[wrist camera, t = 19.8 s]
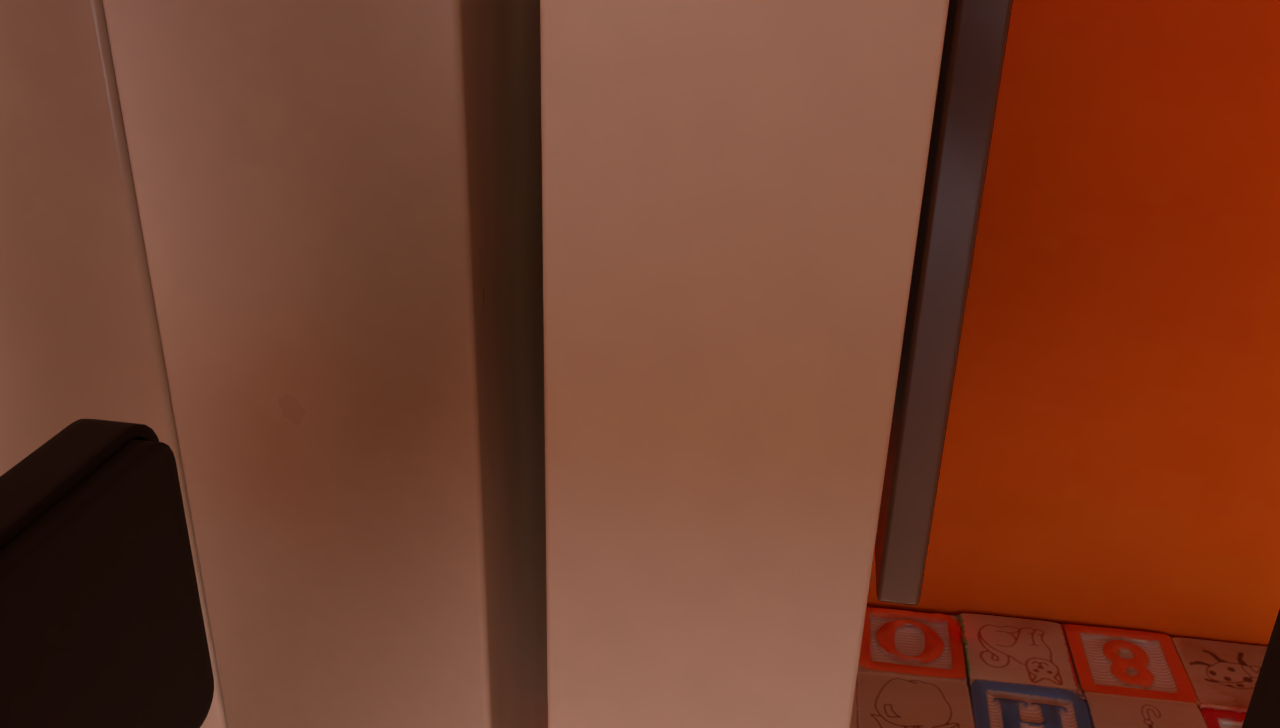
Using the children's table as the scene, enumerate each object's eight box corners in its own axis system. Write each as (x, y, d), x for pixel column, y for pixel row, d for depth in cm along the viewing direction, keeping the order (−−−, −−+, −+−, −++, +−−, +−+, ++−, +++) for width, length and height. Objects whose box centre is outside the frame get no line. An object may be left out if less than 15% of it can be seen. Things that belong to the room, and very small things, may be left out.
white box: (750, -208, 25) (535, -294, 9) (911, -205, 24) (990, -289, 8) (715, 365, 31) (548, 930, 15) (844, 378, 30) (816, 978, 14)
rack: (1027, -253, 25) (1423, -458, 8) (931, 401, 31) (1028, 1062, 14) (371, -262, 27) (-458, -437, 10) (414, 353, 34) (-33, 882, 17)
